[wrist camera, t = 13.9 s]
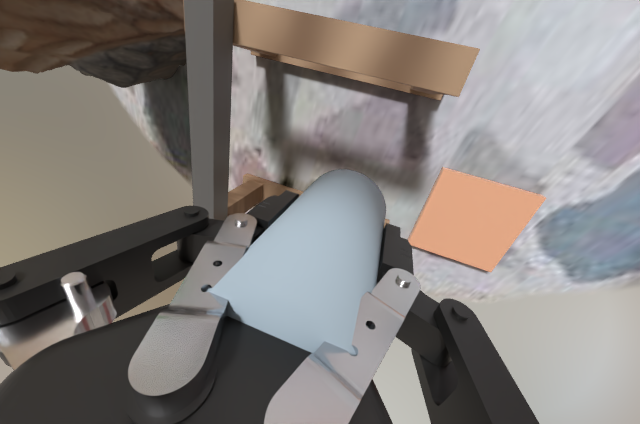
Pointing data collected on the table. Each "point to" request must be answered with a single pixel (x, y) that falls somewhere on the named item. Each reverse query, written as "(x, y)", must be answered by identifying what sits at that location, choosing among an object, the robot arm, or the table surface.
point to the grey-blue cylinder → (312, 264)
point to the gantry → (343, 64)
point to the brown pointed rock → (94, 38)
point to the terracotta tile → (472, 218)
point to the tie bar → (209, 99)
